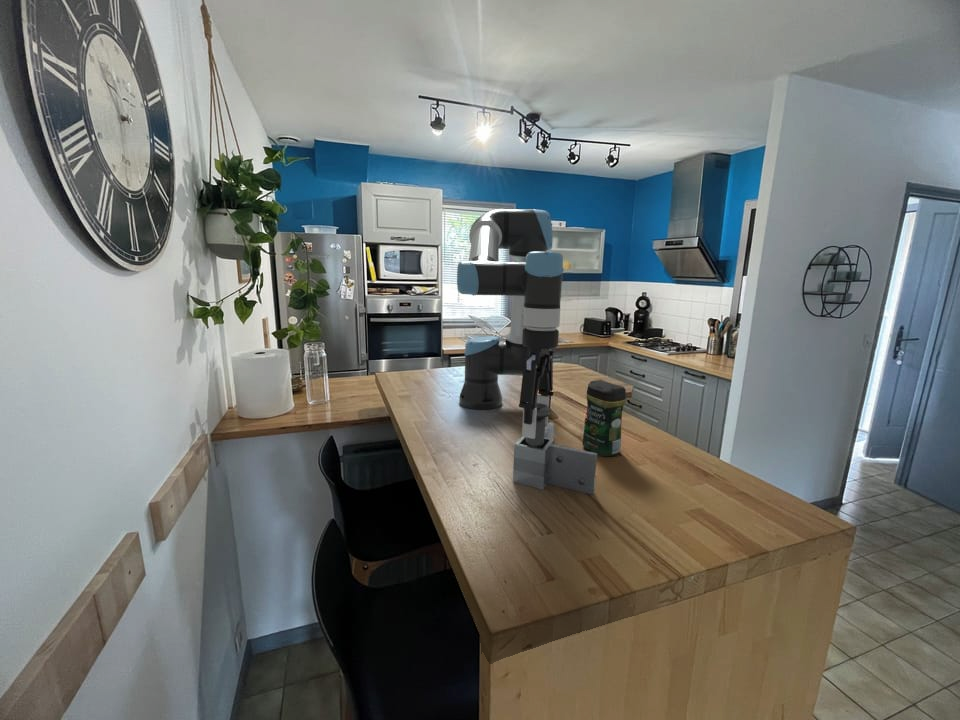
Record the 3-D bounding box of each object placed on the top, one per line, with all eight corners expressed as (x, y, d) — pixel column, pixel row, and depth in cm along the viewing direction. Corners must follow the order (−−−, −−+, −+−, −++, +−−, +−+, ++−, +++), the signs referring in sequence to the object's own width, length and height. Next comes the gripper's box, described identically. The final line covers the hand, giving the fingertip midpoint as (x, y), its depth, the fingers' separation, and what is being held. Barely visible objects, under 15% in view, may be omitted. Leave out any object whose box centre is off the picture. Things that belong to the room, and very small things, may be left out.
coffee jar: (576, 446, 112) (581, 379, 108) (597, 440, 116) (603, 376, 112) (604, 460, 104) (610, 389, 100) (625, 453, 108) (632, 385, 104)
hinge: (536, 452, 107) (538, 420, 105) (604, 467, 100) (607, 432, 98) (512, 482, 92) (514, 444, 90) (590, 501, 85) (593, 461, 83)
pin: (525, 469, 97) (528, 401, 92) (548, 475, 95) (553, 405, 90) (516, 481, 92) (519, 410, 88) (541, 488, 90) (545, 415, 85)
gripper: (539, 321, 97) (534, 412, 102) (504, 332, 79) (501, 444, 83) (570, 323, 94) (564, 417, 99) (542, 336, 75) (536, 451, 80)
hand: (535, 429), depth 91 cm, fingers open, 8 cm apart
